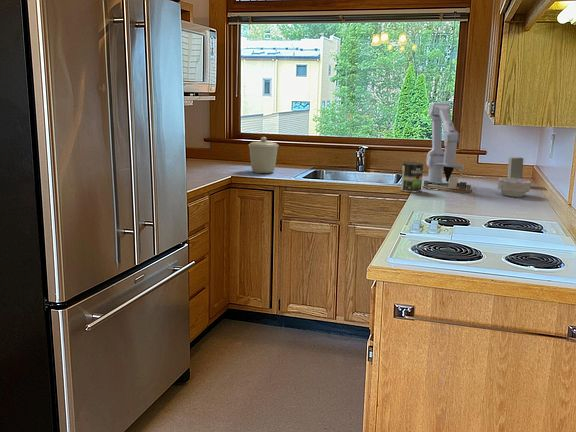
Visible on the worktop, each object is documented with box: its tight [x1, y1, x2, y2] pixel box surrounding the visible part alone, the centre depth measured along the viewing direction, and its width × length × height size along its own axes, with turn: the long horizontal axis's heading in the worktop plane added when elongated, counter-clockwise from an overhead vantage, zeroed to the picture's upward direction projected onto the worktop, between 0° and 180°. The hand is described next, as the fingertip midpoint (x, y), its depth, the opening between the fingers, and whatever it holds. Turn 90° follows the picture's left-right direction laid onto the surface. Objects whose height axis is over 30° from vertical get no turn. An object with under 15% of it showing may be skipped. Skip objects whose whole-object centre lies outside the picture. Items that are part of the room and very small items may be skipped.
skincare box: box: [507, 156, 524, 179], centre depth 304 cm, size 8×7×16 cm
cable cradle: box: [421, 179, 473, 194], centre depth 287 cm, size 10×24×5 cm, turn 62°
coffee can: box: [400, 161, 424, 193], centre depth 280 cm, size 10×10×14 cm
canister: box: [247, 136, 280, 174], centre depth 325 cm, size 18×18×21 cm
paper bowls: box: [497, 177, 532, 198], centre depth 276 cm, size 15×15×8 cm
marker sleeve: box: [447, 175, 459, 189], centre depth 285 cm, size 4×4×6 cm
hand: (447, 181), depth 286 cm, fingers closed
